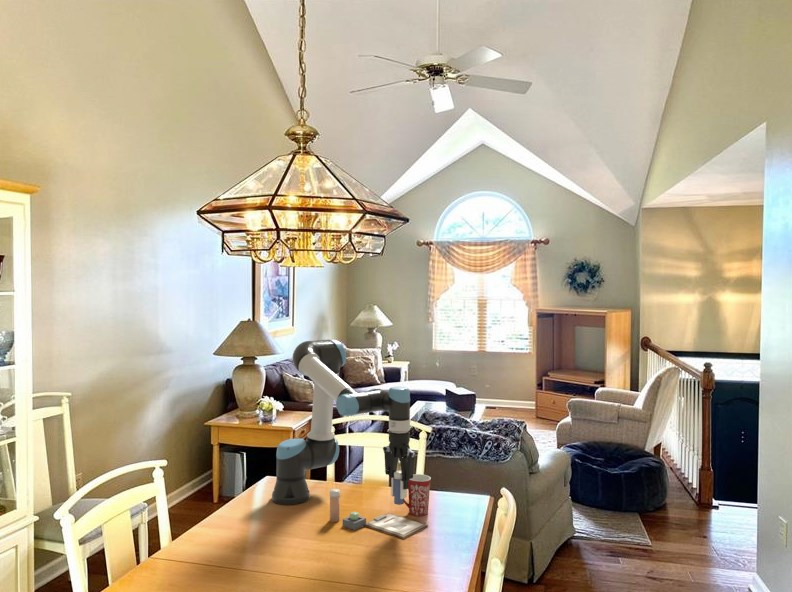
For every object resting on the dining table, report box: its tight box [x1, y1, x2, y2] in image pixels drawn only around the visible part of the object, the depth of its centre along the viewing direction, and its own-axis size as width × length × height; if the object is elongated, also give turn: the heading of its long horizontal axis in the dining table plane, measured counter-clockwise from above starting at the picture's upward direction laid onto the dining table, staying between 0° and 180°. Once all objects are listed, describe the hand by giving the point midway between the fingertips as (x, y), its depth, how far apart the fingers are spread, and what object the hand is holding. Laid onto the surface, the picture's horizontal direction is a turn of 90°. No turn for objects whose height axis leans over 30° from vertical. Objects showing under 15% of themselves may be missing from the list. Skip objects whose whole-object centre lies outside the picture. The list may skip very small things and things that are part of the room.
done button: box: [349, 511, 360, 522], centre depth 213 cm, size 3×3×2 cm
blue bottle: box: [393, 470, 405, 506], centre depth 210 cm, size 4×4×11 cm
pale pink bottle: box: [329, 488, 341, 523], centre depth 217 cm, size 4×4×11 cm
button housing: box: [342, 515, 367, 531], centre depth 213 cm, size 6×6×2 cm
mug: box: [404, 473, 432, 517], centre depth 226 cm, size 13×9×14 cm
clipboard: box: [363, 512, 429, 540], centre depth 212 cm, size 18×14×2 cm
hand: (399, 496), depth 210 cm, fingers closed on blue bottle, 3 cm apart
